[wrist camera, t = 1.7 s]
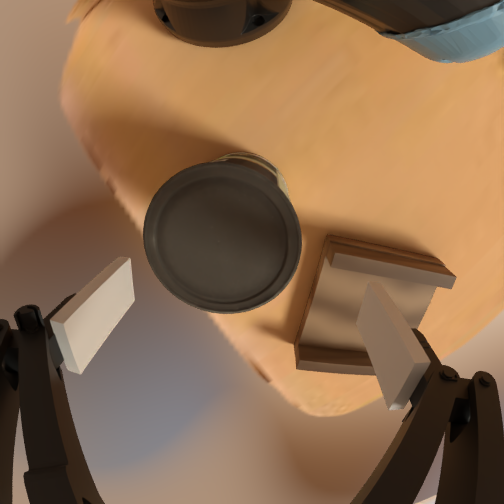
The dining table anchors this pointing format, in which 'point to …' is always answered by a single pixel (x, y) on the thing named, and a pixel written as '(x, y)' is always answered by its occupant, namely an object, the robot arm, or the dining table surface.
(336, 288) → the stand
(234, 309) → the coffee can
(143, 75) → the dining table surface
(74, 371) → the robot arm
